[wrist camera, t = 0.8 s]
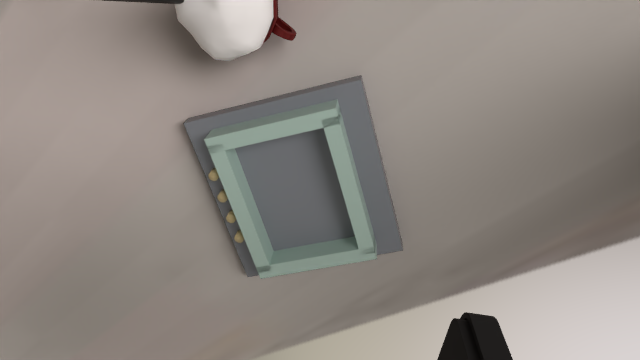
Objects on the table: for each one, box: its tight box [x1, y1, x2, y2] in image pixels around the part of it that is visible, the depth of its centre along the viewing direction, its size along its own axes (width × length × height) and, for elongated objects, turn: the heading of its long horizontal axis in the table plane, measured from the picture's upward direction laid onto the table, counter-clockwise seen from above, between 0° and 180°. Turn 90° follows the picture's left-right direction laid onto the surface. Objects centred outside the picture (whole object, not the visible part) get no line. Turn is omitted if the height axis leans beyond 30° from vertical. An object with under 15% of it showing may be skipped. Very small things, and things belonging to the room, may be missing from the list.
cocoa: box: [104, 0, 296, 61], centre depth 29 cm, size 10×6×12 cm, turn 41°
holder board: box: [184, 75, 403, 279], centre depth 39 cm, size 14×15×3 cm
